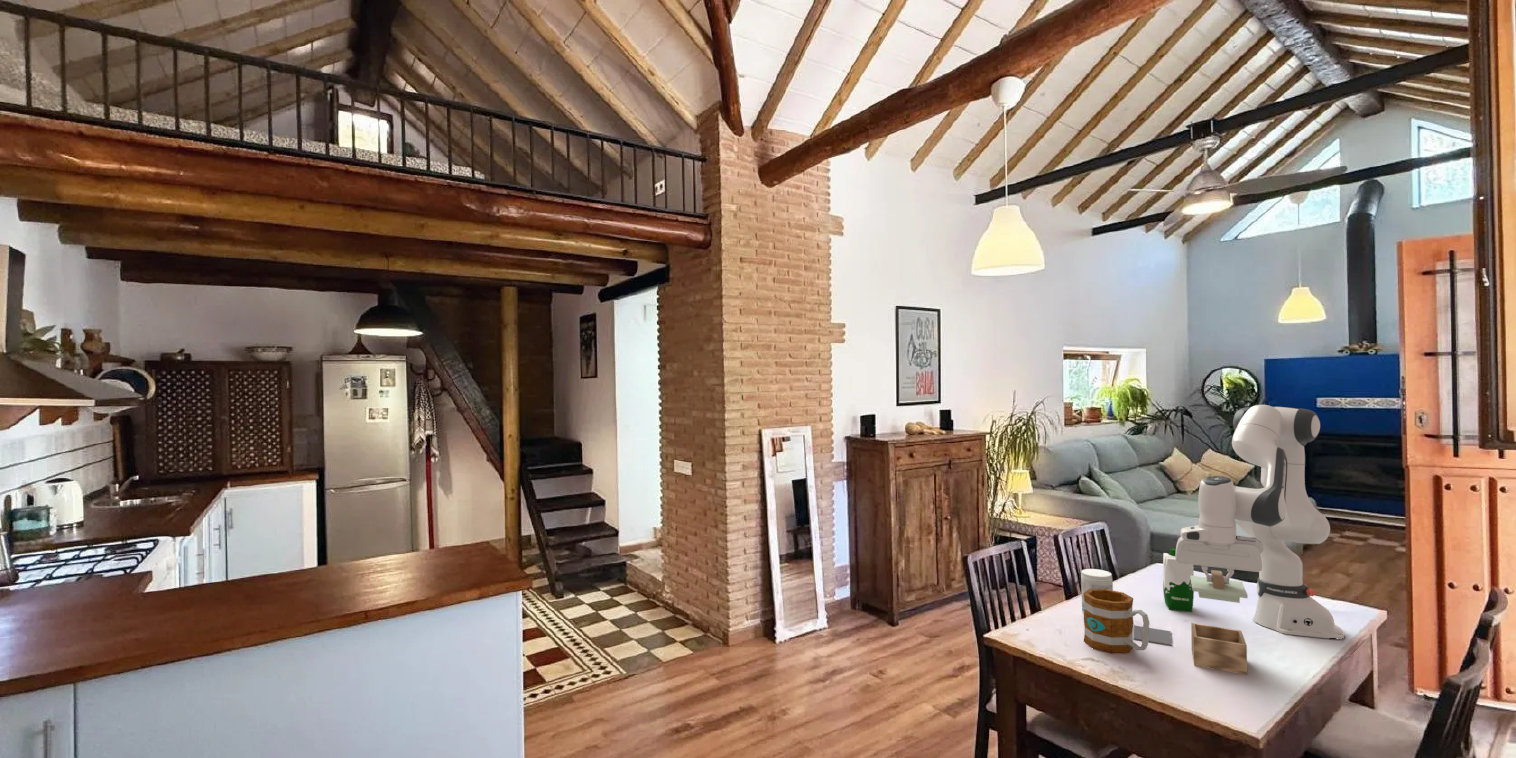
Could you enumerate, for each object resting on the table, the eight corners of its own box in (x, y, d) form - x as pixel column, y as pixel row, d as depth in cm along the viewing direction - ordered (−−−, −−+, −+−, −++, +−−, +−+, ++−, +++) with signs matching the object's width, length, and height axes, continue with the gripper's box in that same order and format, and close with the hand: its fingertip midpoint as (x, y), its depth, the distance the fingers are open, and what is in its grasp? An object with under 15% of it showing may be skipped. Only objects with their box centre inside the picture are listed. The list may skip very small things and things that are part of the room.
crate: (1241, 658, 187) (1241, 630, 187) (1246, 674, 177) (1246, 645, 177) (1191, 649, 194) (1191, 622, 194) (1194, 665, 183) (1193, 636, 183)
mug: (1073, 640, 201) (1073, 592, 201) (1104, 633, 207) (1104, 586, 206) (1132, 666, 183) (1131, 613, 183) (1164, 657, 188) (1163, 606, 188)
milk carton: (1190, 605, 231) (1189, 548, 230) (1196, 613, 222) (1195, 555, 222) (1161, 602, 234) (1161, 546, 234) (1166, 610, 226) (1165, 552, 225)
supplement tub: (1119, 616, 220) (1118, 573, 220) (1103, 623, 215) (1103, 578, 215) (1091, 608, 228) (1090, 566, 228) (1075, 614, 223) (1075, 571, 223)
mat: (1170, 632, 206) (1170, 631, 206) (1171, 646, 196) (1171, 644, 196) (1134, 626, 212) (1134, 625, 212) (1133, 639, 201) (1133, 638, 201)
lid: (1242, 592, 187) (1241, 571, 187) (1247, 605, 177) (1247, 583, 177) (1190, 585, 194) (1190, 565, 194) (1192, 598, 183) (1192, 576, 183)
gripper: (1261, 535, 183) (1261, 584, 183) (1174, 527, 193) (1175, 574, 193) (1264, 541, 177) (1265, 591, 177) (1175, 532, 188) (1176, 580, 188)
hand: (1217, 582), depth 185 cm, fingers closed on lid, 2 cm apart
